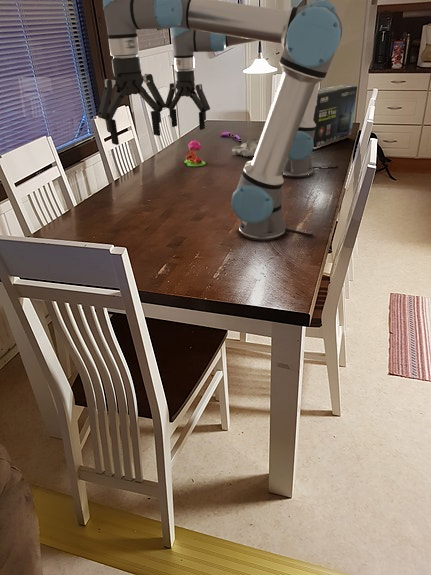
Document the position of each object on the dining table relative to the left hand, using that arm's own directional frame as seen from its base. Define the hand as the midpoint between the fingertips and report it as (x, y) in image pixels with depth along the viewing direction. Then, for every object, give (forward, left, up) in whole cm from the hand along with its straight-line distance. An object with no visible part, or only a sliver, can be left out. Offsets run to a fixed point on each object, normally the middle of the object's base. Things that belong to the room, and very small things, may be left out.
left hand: (136, 139), depth 131 cm
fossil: (+16, -105, -32) cm, 111 cm away
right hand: (+20, -56, -9) cm, 60 cm away
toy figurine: (+33, -80, -32) cm, 92 cm away
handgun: (+40, -131, -32) cm, 140 cm away
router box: (-11, -140, -32) cm, 144 cm away
